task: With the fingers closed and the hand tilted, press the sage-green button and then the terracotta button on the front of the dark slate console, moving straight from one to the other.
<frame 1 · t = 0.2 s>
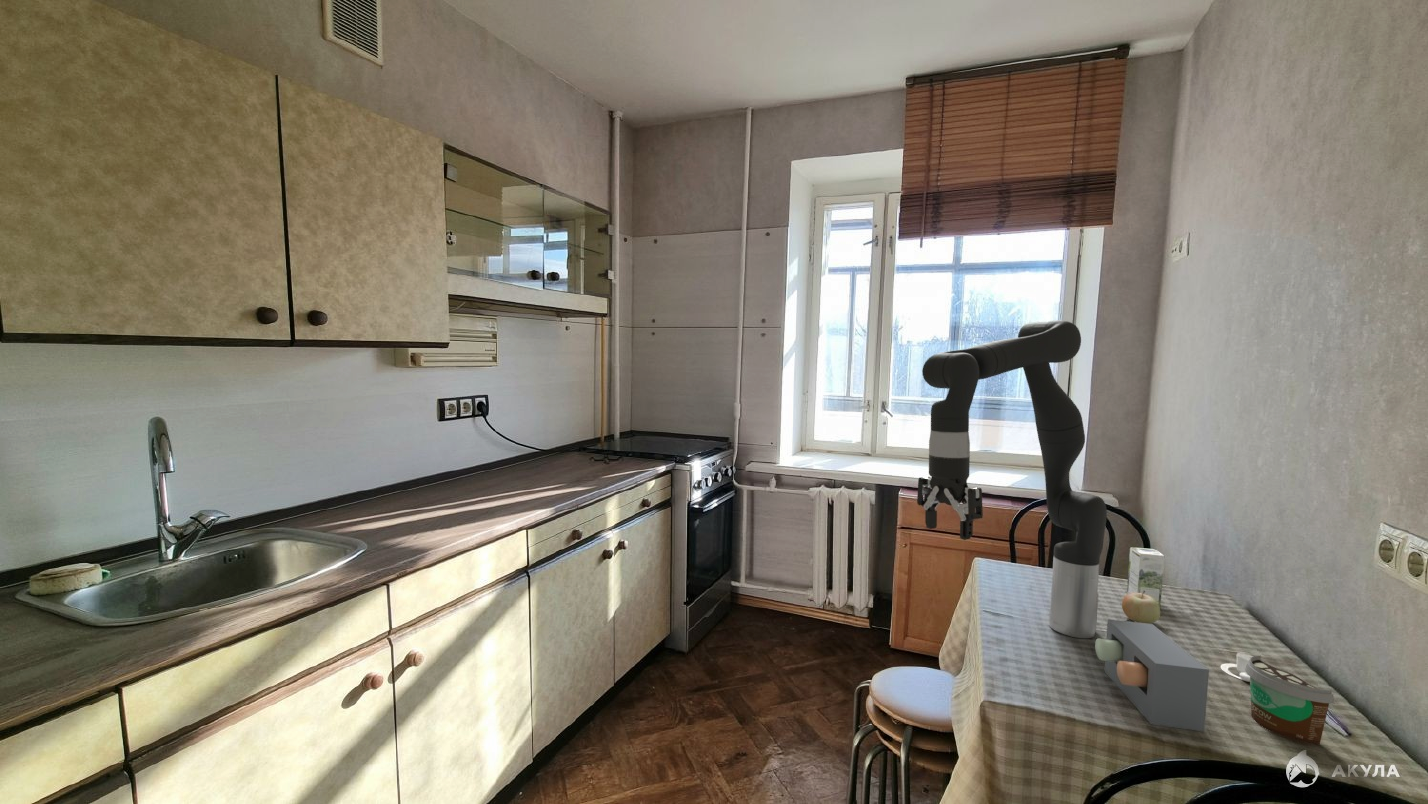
hand: (947, 533, 113), 28 cm above the table, tool pointing down, fingers open, 8 cm apart
terracotta button: (1134, 673, 103), point 6 cm above the table, slide at 0.0 cm
slate console: (1149, 698, 107), on the table
fruit: (1139, 622, 141), on the table
teacup and saucer: (1230, 676, 117), on the table
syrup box: (1143, 603, 152), on the table
sage button: (1111, 650, 112), point 6 cm above the table, slide at 0.0 cm
food container: (1273, 727, 99), on the table
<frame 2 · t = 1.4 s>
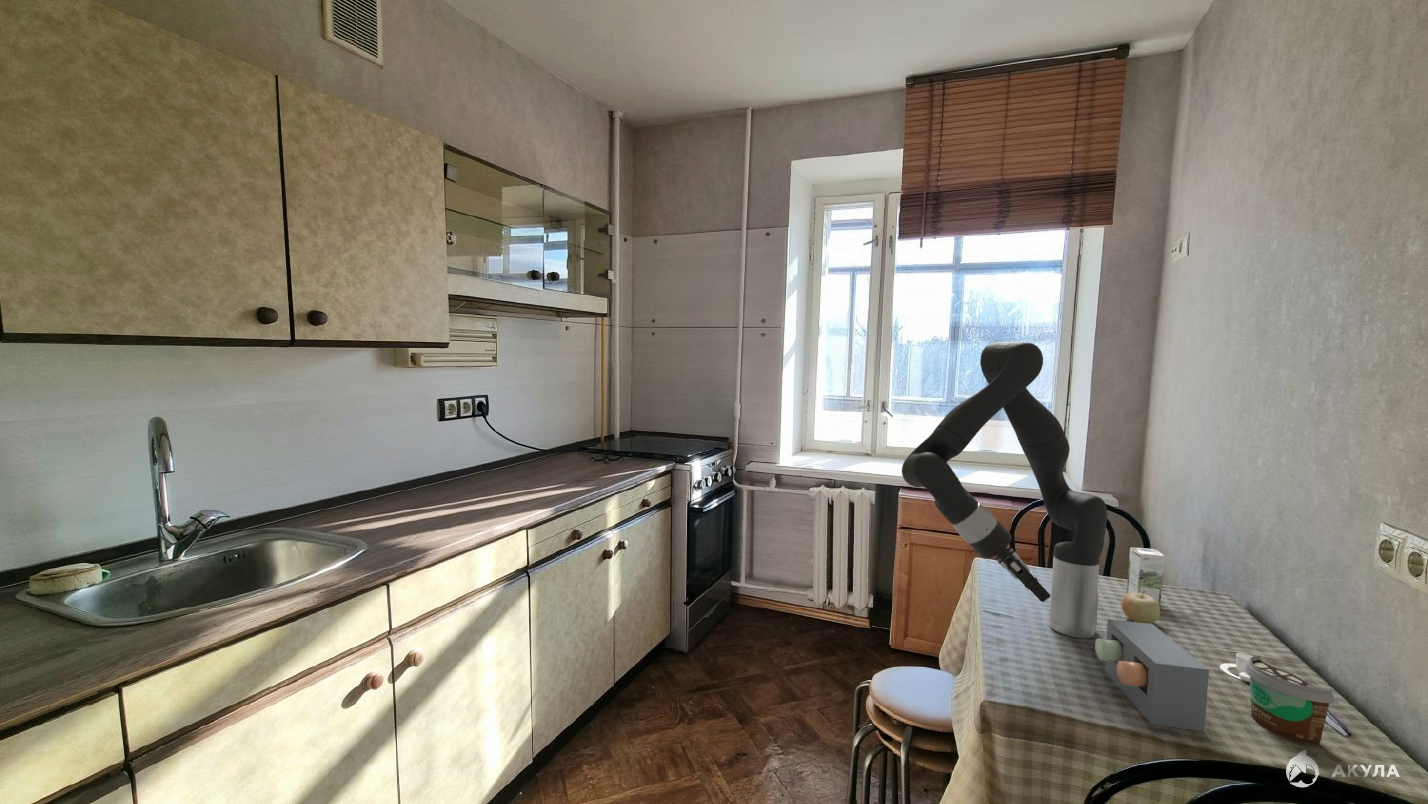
hand: (1039, 591, 114), 17 cm above the table, tool tilted 45°, fingers open, 7 cm apart
nothing on the table moved.
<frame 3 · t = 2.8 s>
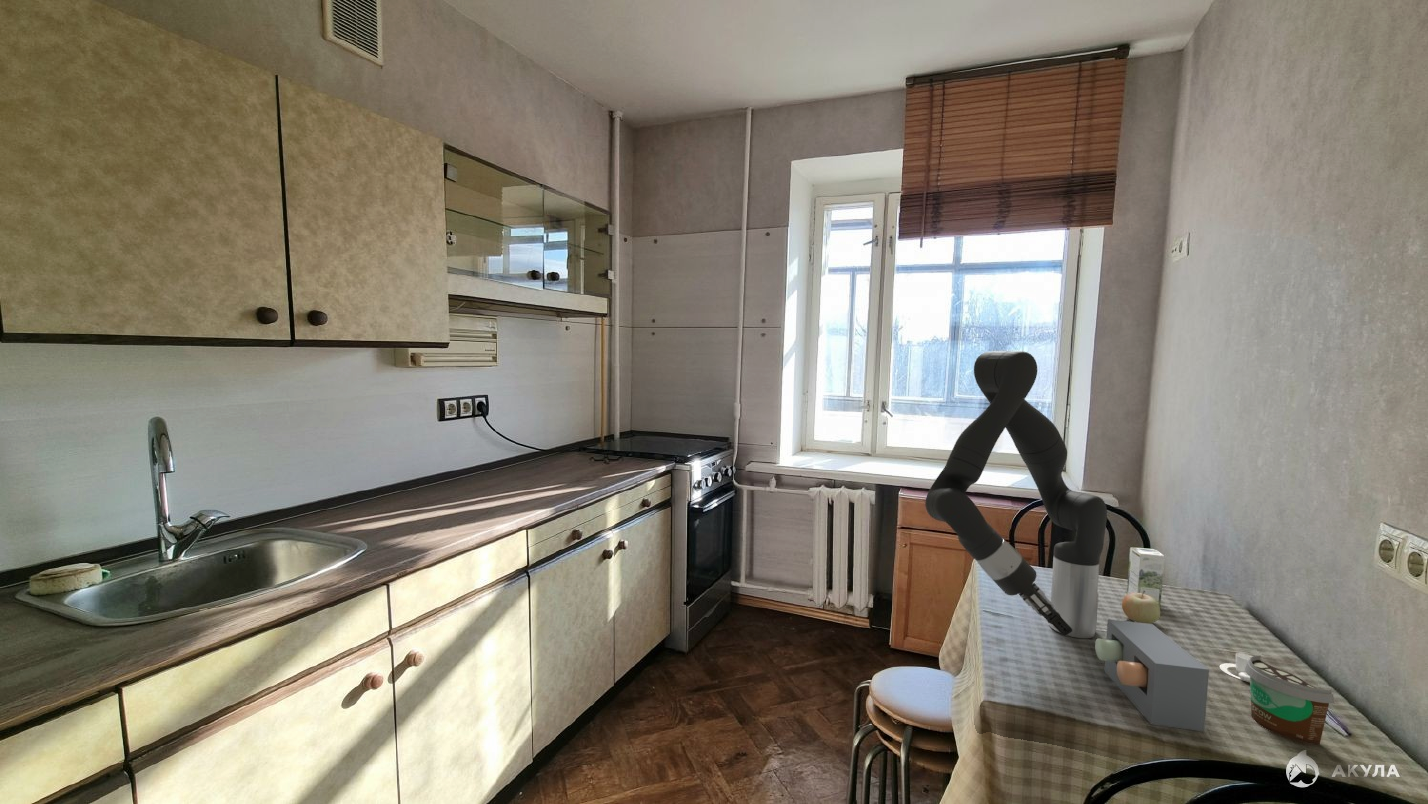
hand: (1067, 631, 113), 9 cm above the table, tool tilted 45°, fingers closed
nothing on the table moved.
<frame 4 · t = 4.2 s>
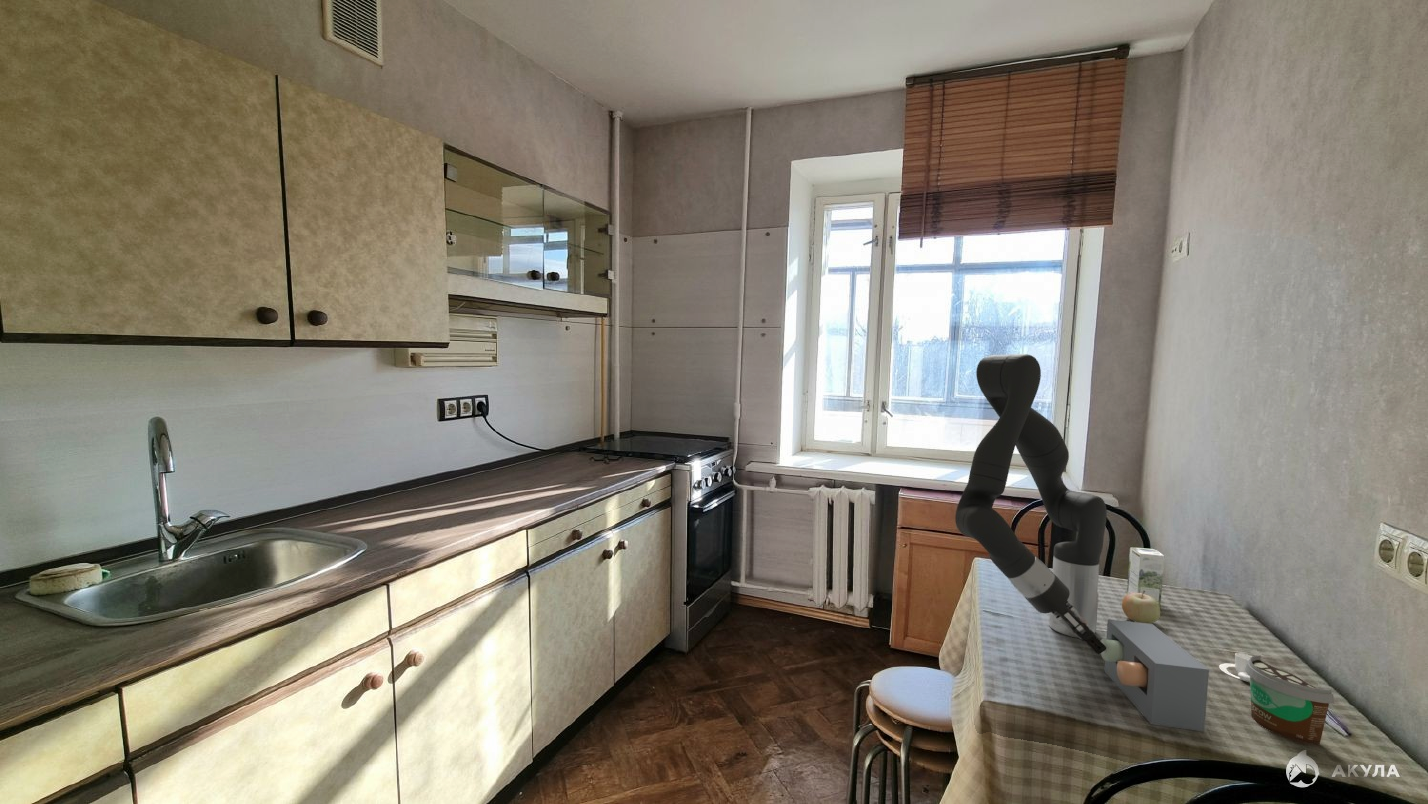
hand: (1100, 649, 112), 6 cm above the table, tool tilted 45°, fingers closed
sage button: (1115, 650, 112), point 6 cm above the table, slide at 0.8 cm, touching gripper
everything else where it was.
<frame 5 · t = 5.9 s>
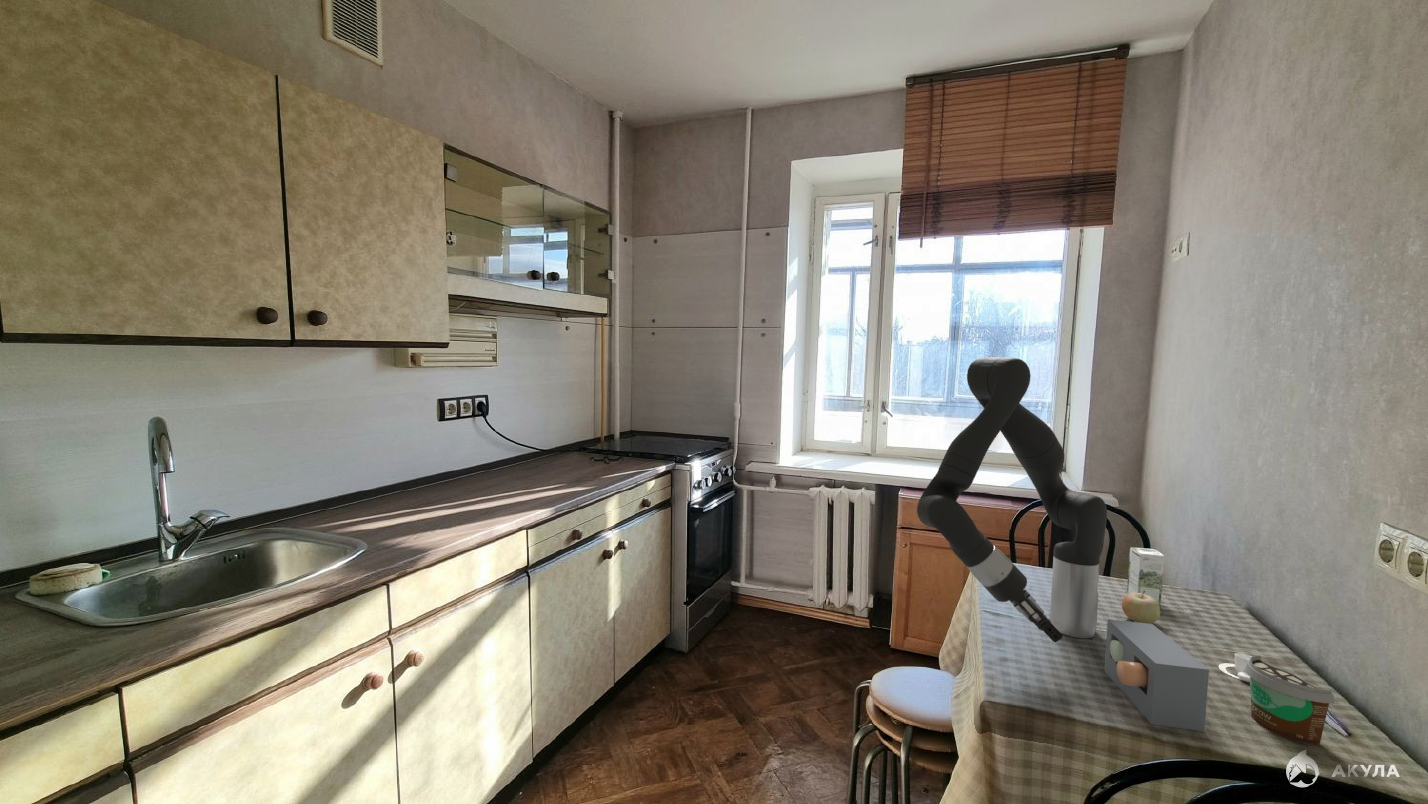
hand: (1057, 638, 114), 8 cm above the table, tool tilted 45°, fingers closed
sage button: (1126, 652, 111), point 6 cm above the table, slide at 2.6 cm
everything else where it was.
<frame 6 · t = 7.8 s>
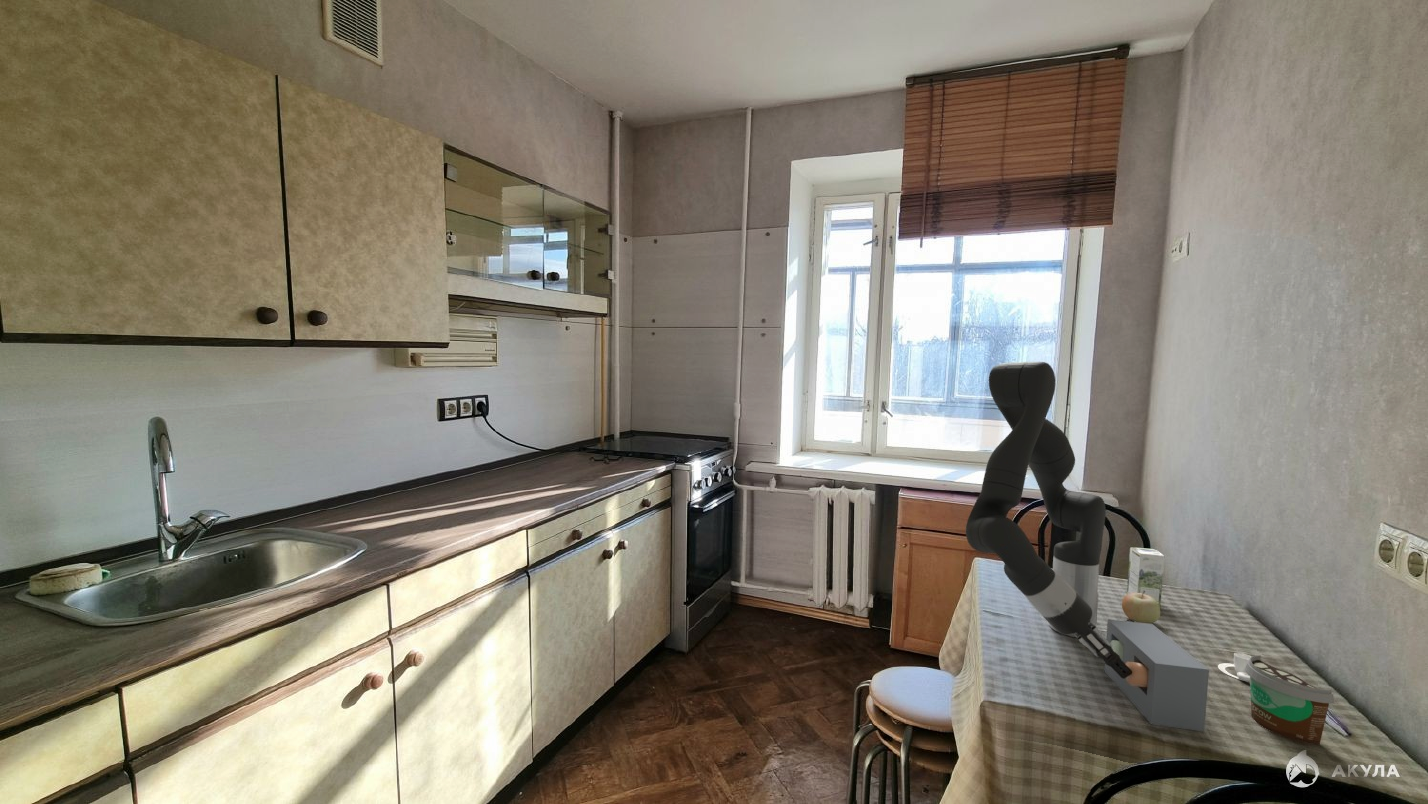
hand: (1126, 673, 103), 6 cm above the table, tool tilted 45°, fingers closed
terracotta button: (1142, 674, 103), point 6 cm above the table, slide at 1.3 cm, touching gripper
everything else where it was.
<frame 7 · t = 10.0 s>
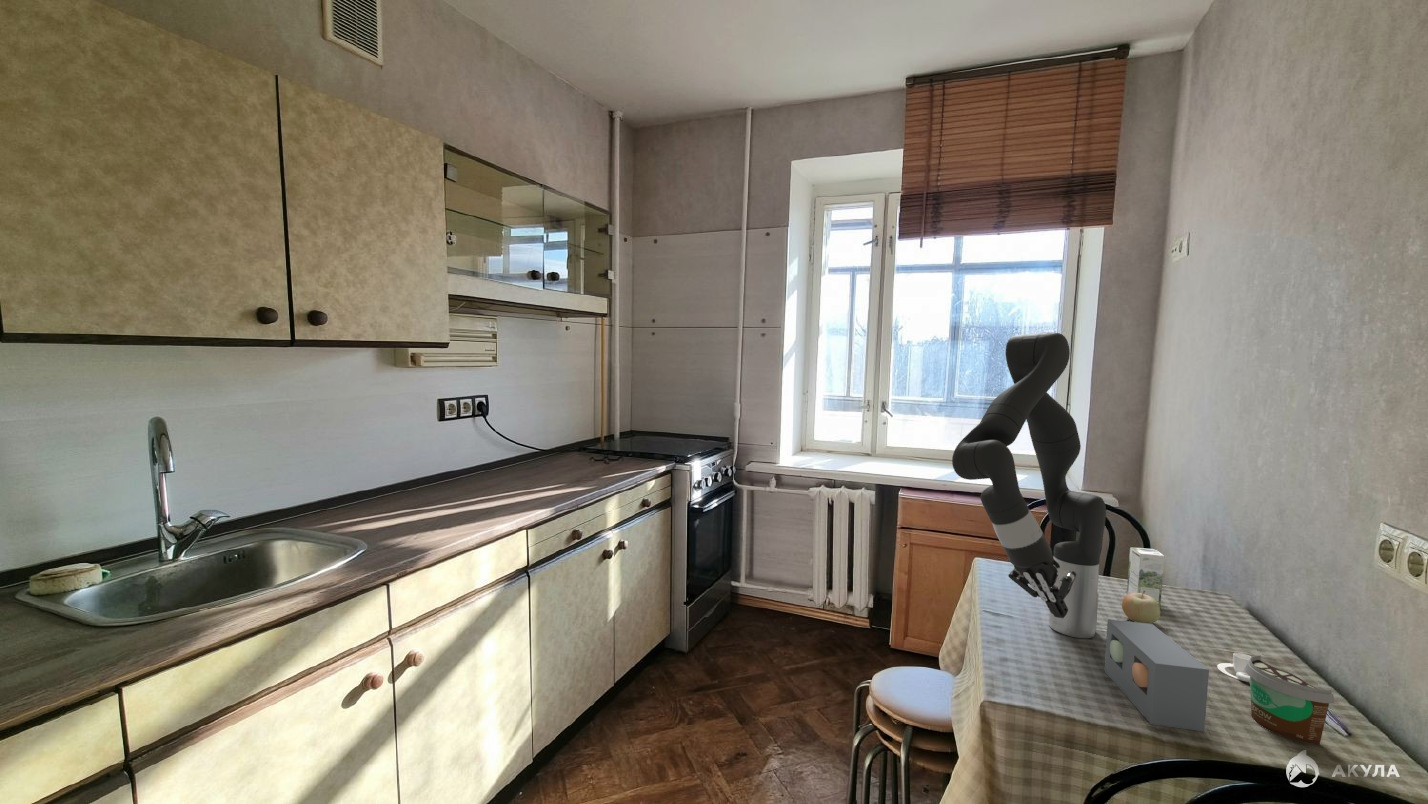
hand: (1061, 615, 108), 15 cm above the table, tool tilted 30°, fingers closed
terracotta button: (1150, 675, 102), point 6 cm above the table, slide at 2.5 cm
everything else where it was.
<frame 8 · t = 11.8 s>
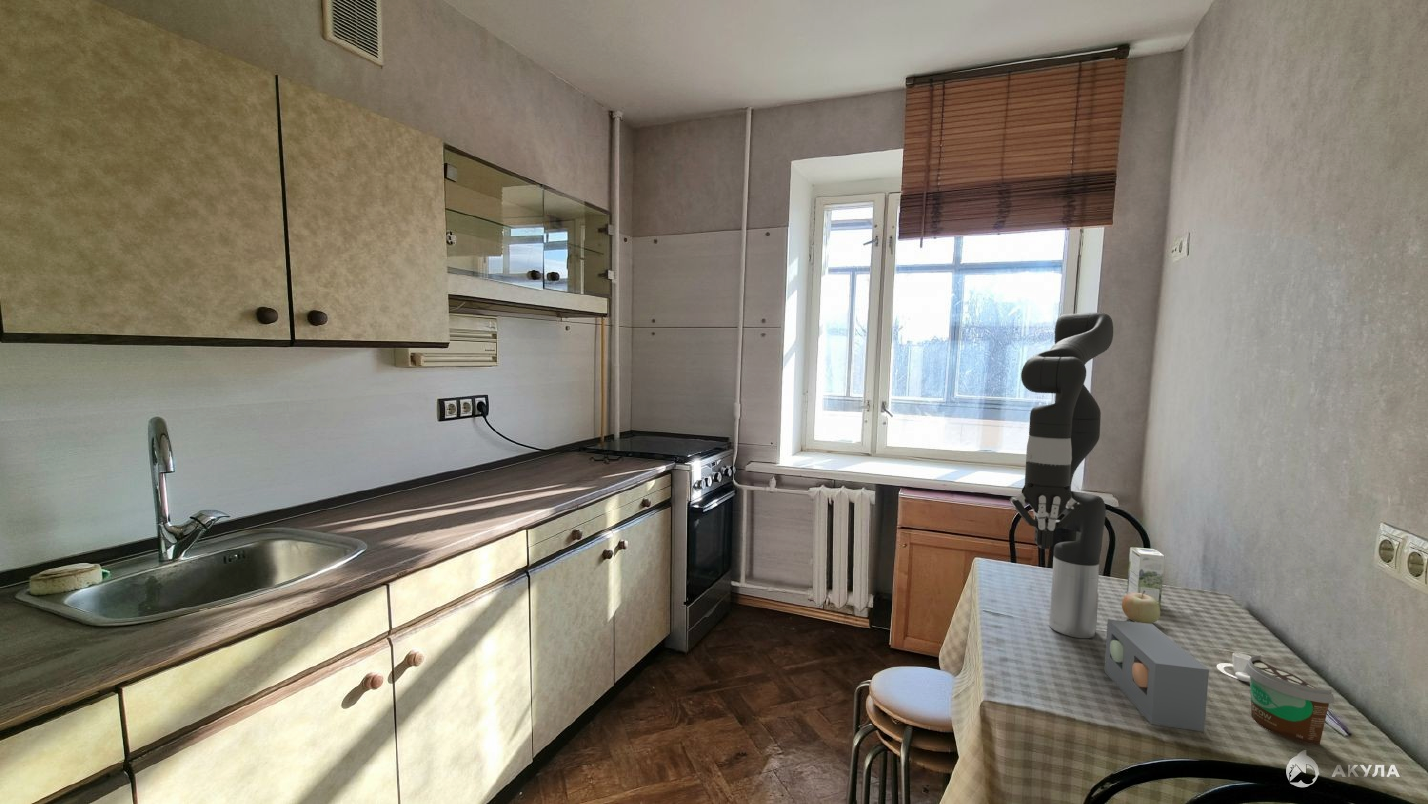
hand: (1043, 547, 110), 27 cm above the table, tool pointing down, fingers closed
nothing on the table moved.
at the end: sage button slide at 2.6 cm; terracotta button slide at 2.5 cm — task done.
